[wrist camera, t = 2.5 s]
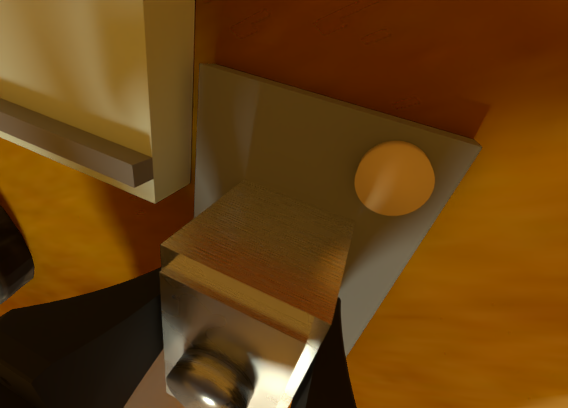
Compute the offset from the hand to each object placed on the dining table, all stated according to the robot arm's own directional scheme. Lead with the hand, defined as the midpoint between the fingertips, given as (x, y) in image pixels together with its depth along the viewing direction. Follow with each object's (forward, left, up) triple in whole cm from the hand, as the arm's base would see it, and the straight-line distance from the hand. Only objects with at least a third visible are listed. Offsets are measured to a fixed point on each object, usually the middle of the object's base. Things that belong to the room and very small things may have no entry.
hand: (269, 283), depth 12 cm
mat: (0, 0, -2) cm, 2 cm away
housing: (0, 0, -1) cm, 1 cm away
